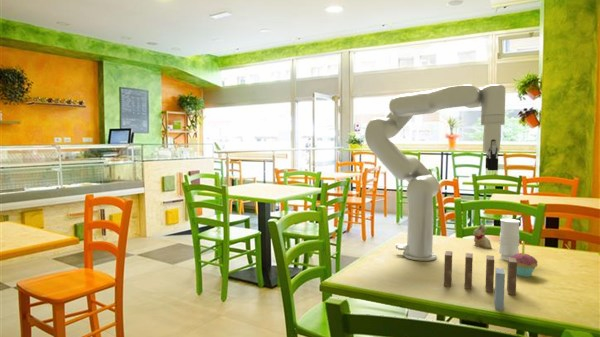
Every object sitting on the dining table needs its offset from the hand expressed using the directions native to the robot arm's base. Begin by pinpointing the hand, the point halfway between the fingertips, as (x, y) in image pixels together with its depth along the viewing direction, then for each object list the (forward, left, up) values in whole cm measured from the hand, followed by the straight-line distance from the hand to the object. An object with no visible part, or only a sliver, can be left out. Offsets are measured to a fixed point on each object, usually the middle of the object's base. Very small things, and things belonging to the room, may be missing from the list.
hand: (491, 169), depth 145 cm
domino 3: (0, -24, -35) cm, 43 cm away
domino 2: (-6, -24, -35) cm, 43 cm away
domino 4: (+2, -37, -35) cm, 51 cm away
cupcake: (+11, -4, -36) cm, 37 cm away
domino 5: (+6, -24, -35) cm, 43 cm away
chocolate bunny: (-1, +31, -36) cm, 47 cm away
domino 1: (-12, -24, -35) cm, 44 cm away
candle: (+8, +15, -36) cm, 39 cm away
